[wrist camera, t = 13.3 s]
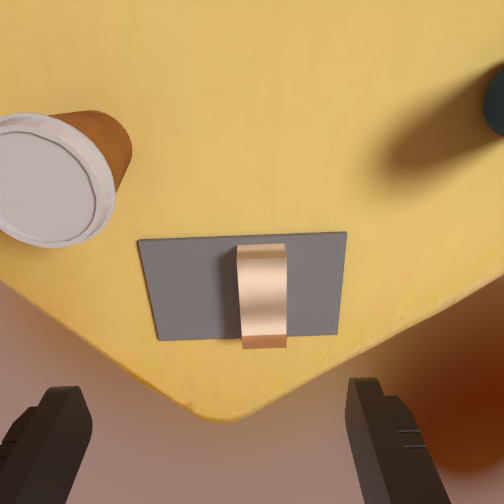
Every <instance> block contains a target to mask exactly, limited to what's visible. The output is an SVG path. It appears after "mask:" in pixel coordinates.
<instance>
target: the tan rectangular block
mask: <svg viewBox="0 0 504 504" xmlns="http://www.w3.org/2000/svg"><path fill="white" fill-rule="evenodd" d="M237 272H238V287H239V301H240V315H241V330H242V347H243V349H261V348H286V341H287V334H286V314H287V256H286V250H285V244H284V243H282V244H256V245H237Z"/></svg>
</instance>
